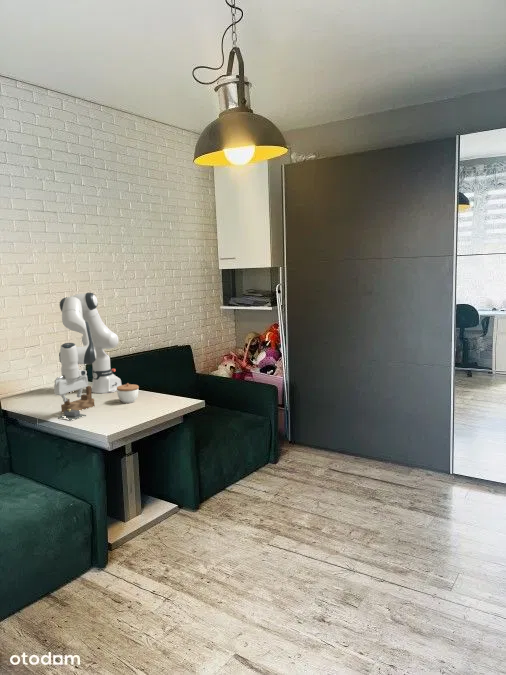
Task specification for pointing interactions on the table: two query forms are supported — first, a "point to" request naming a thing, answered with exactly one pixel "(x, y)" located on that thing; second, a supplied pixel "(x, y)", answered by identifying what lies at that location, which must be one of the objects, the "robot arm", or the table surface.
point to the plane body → (80, 402)
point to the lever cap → (72, 413)
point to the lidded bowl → (128, 392)
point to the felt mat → (73, 417)
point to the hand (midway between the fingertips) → (72, 399)
